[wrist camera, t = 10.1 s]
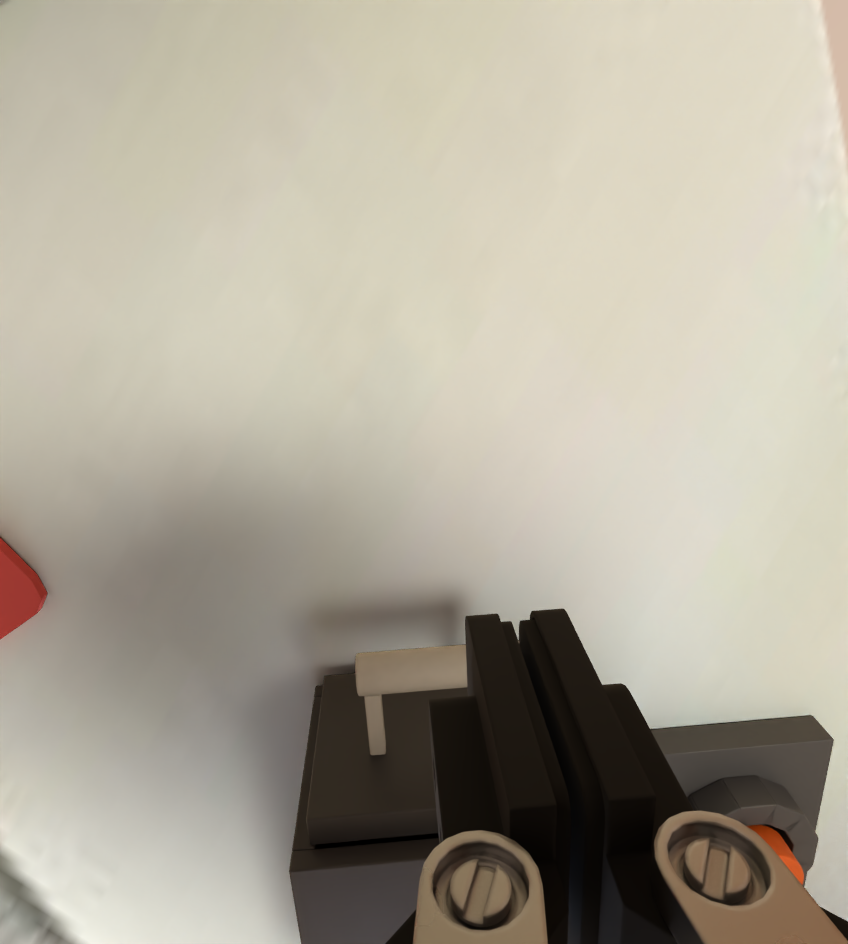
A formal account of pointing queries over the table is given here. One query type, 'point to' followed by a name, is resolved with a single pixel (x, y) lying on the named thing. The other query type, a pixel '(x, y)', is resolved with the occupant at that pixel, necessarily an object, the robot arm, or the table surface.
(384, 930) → the cabinet
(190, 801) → the table surface
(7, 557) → the desk lamp
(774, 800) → the control block
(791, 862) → the button
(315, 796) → the drawer
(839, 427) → the table surface
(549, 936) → the robot arm
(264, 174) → the table surface
